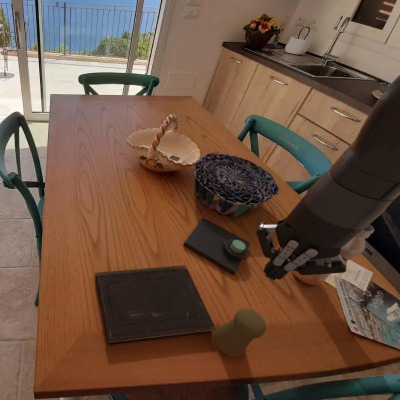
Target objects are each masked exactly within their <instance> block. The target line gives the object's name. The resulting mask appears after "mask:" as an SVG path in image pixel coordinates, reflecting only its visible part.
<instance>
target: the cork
mask: <svg viewBox="0 0 400 400" xmlns="http://www.w3.org/2000/svg"><path fill="white" fill-rule="evenodd" d="M265 321H266V320H265V318H263V316H262V315H261V314H260V313H259V312H257V311H256V310H254V309H251V308H241V309H239V310H237V311H236V312H235V314H234V316H233V319H231V320H229V321H227V322H225V323H224V324H222V325H220V326H219V327H217V328H216V329H215V330H214V331H213V341H214V343H215V346H216V347H217V348H218V349H219V351H221V352H222V353H223V354H224V355H226V356H228V357H232V358H237V357H240V356H241V355H242V354H243V353H244V352H245V351H246V349H247V348H248V346H249V345H250V344H251V342H252V341H253V340H254V339H259V338H261V337H263V336H264V335H265V333H266V331H267V324H266V322H265Z"/></svg>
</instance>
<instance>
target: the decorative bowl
mask: <svg viewBox="0 0 400 400" xmlns="http://www.w3.org/2000/svg"><path fill="white" fill-rule="evenodd" d="M192 165H193V173H194V174H193V175H194V191H195V195H196V196H197V197H198V199H199V201H200V202H201V203H202V204H205V205H206V207H207V208H208V209H210V210H214V211H216V212H217V213H218V214H219V215H223V216H227V215H229V216H231V217H238V216H241V215H244V214H246V213H249V212H250V211H252V210H253V209H256V207H258V206H260V205H262V204H264V203H265V202H268V201H269V200H271V199H272V198H273V196H276V195H279V194H280V191H281V188H280V187H279V185H278V184H277V183H276V180H275V178H274V177H273V175H272V174H271V173H270V172H269V171H267V170H265V168H263V167H262V166H259V165H258V164H256V163H254V162H252V161H251V160H249V159H246V158H243V157H239V156H236V155H233V154H229V153H224V152H223V153H222V152H209V153H206V154H205V155H202V157H200V158H199V159H198V160H196V161H195V162H194V163H193V164H192Z"/></svg>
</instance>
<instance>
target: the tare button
mask: <svg viewBox="0 0 400 400" xmlns="http://www.w3.org/2000/svg"><path fill="white" fill-rule="evenodd" d="M230 248H231V250H232V251H233V252H235V253H242V252H243V251H244V249H245V248H246V246H245V244H244V243H243V242H241V241H239V240H234V241H233V242H232V244H231V245H230Z"/></svg>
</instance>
